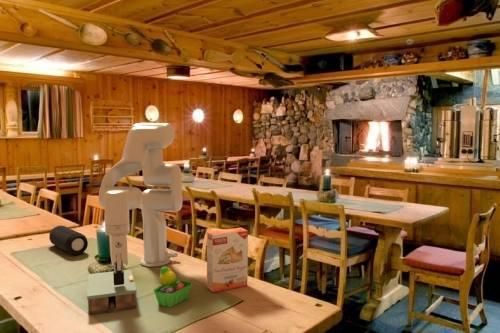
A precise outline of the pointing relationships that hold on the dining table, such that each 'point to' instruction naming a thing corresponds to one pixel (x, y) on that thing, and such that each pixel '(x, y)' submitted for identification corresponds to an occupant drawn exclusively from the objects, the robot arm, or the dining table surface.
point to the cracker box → (227, 259)
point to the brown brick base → (104, 304)
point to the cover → (109, 285)
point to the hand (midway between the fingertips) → (119, 284)
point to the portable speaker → (68, 240)
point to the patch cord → (111, 302)
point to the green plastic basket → (171, 288)
